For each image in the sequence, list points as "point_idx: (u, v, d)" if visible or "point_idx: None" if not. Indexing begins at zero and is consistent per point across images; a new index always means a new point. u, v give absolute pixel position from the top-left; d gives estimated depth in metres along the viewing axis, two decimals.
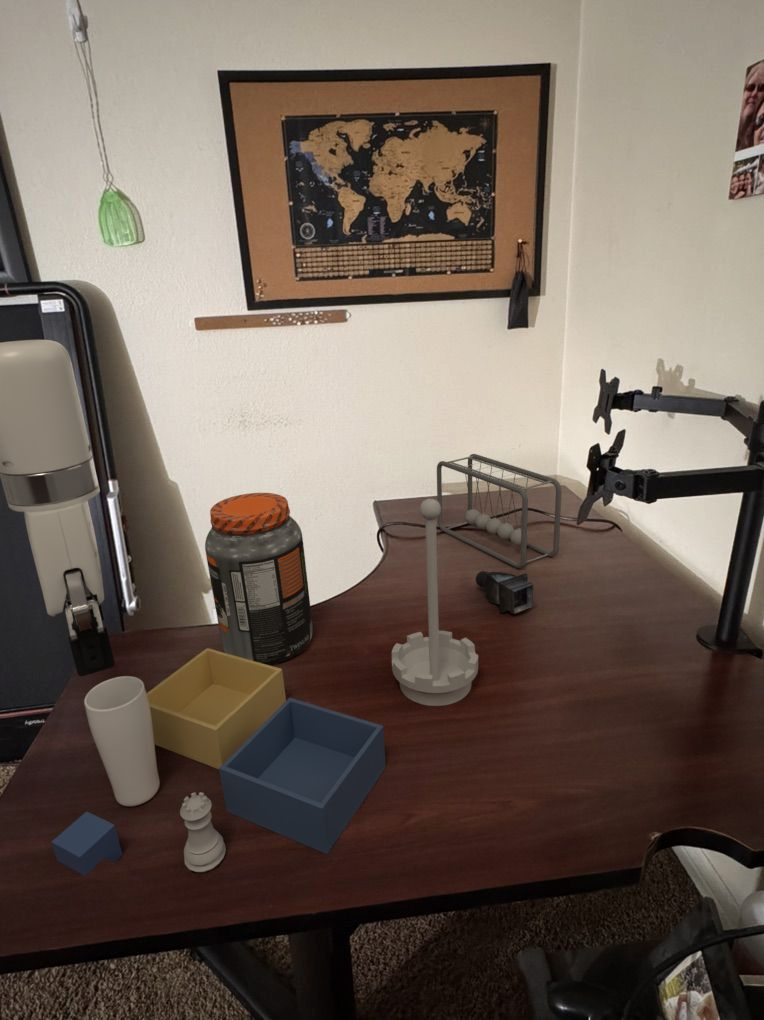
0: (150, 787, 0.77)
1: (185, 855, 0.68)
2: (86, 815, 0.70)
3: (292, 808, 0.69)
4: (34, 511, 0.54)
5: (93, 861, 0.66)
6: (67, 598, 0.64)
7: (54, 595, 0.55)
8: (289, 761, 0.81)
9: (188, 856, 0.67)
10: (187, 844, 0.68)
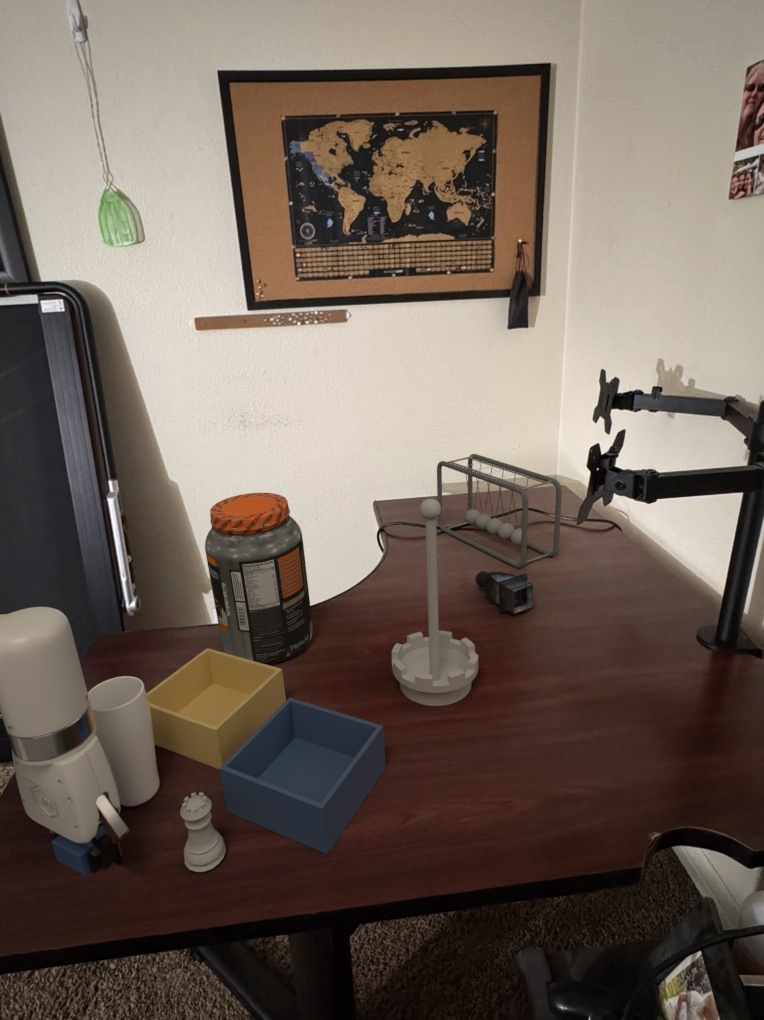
0: (149, 787, 0.77)
1: (185, 855, 0.68)
2: None
3: (292, 808, 0.69)
4: (62, 760, 0.60)
5: None
6: None
7: (90, 824, 0.62)
8: (289, 761, 0.81)
9: (188, 856, 0.67)
10: (187, 844, 0.68)
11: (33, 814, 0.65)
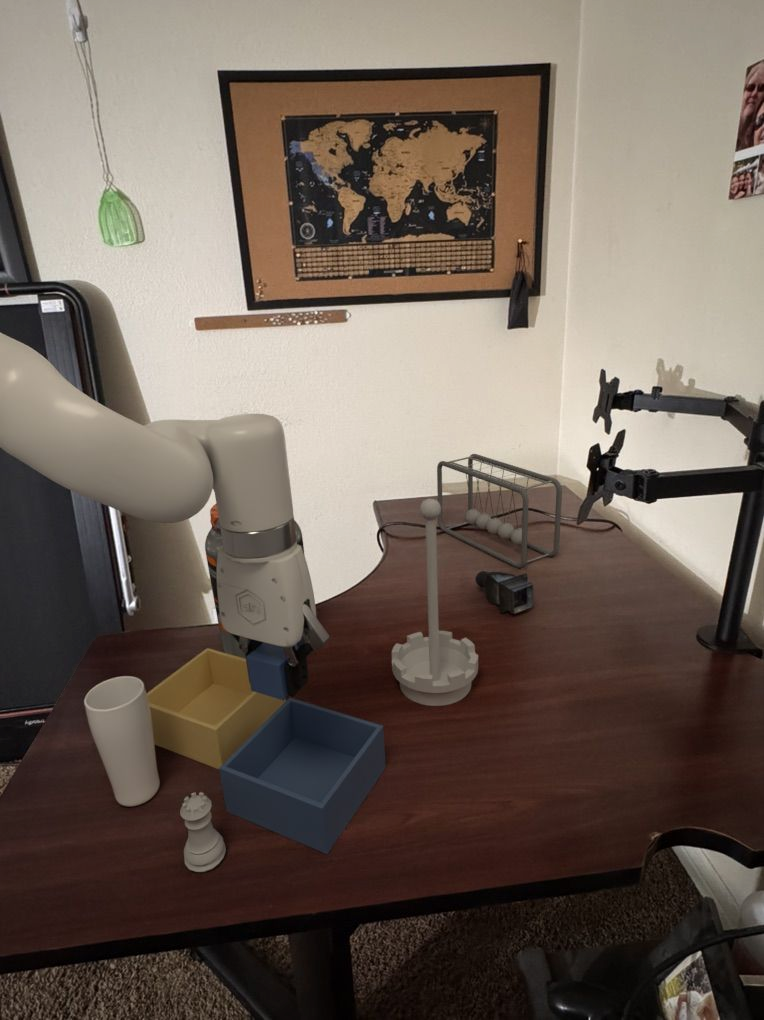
0: (149, 787, 0.77)
1: (185, 855, 0.68)
2: None
3: (292, 808, 0.69)
4: (276, 559, 0.63)
5: None
6: None
7: (298, 626, 0.64)
8: (289, 761, 0.81)
9: (188, 856, 0.67)
10: (187, 844, 0.68)
11: (233, 626, 0.67)
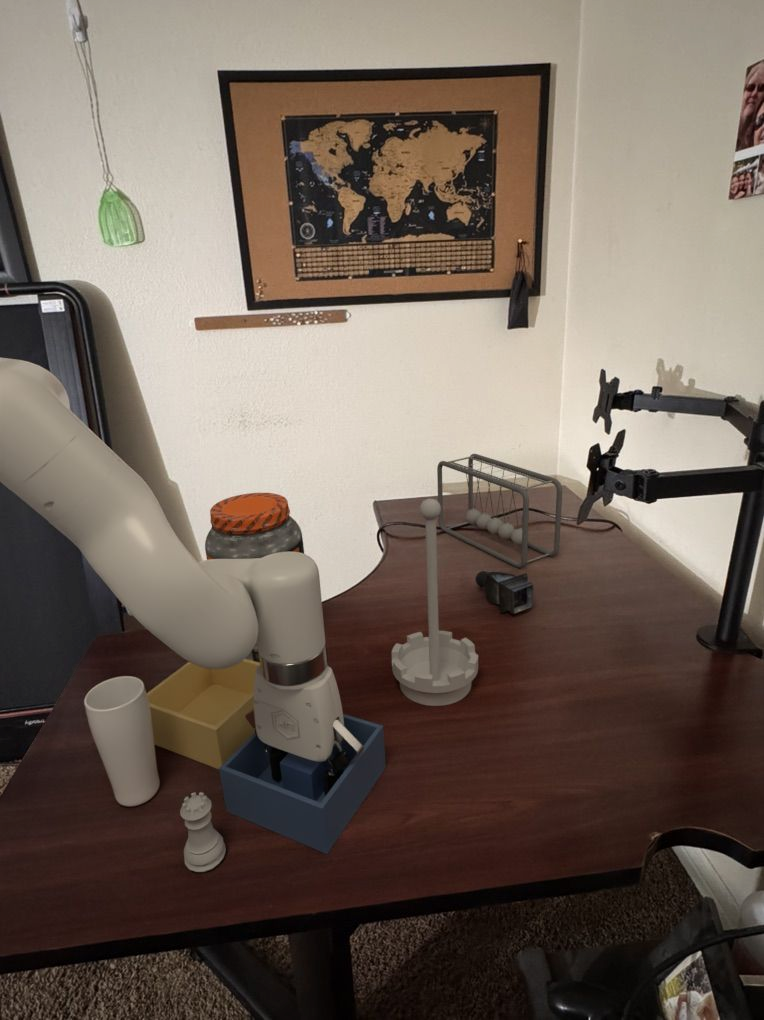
0: (149, 787, 0.77)
1: (185, 855, 0.68)
2: None
3: (292, 808, 0.69)
4: (310, 685, 0.69)
5: (318, 780, 0.75)
6: (275, 757, 0.77)
7: (329, 743, 0.70)
8: None
9: (188, 856, 0.67)
10: (187, 844, 0.68)
11: (268, 738, 0.74)
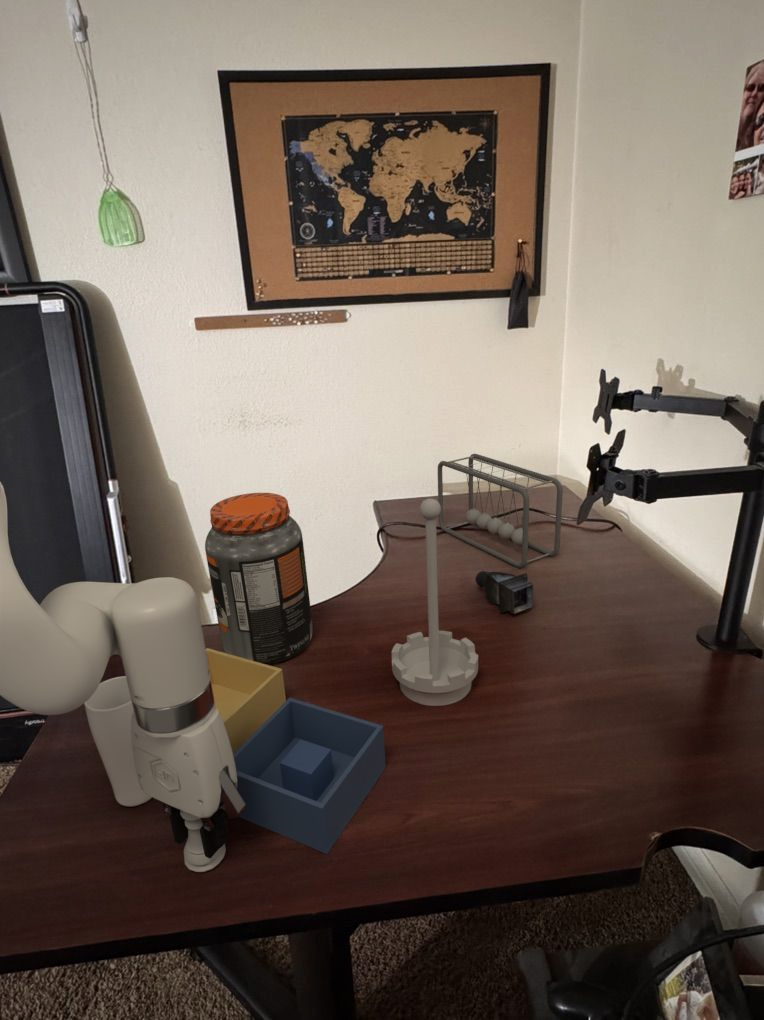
0: None
1: (185, 855, 0.68)
2: (302, 742, 0.78)
3: (292, 808, 0.69)
4: (189, 732, 0.60)
5: (318, 780, 0.75)
6: (176, 817, 0.67)
7: (213, 797, 0.61)
8: None
9: (188, 856, 0.67)
10: (187, 844, 0.68)
11: (149, 789, 0.64)
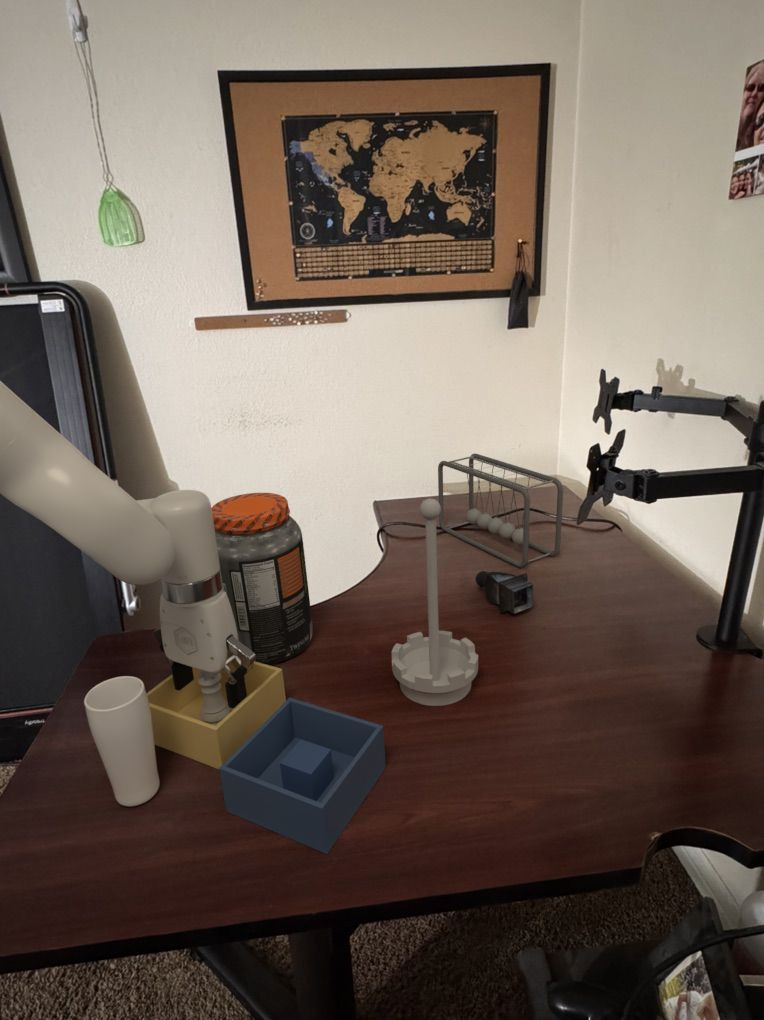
0: (149, 787, 0.77)
1: (201, 715, 0.88)
2: (302, 742, 0.78)
3: (292, 808, 0.69)
4: (204, 604, 0.80)
5: (318, 780, 0.75)
6: (176, 668, 0.88)
7: (222, 656, 0.82)
8: None
9: (203, 716, 0.88)
10: (203, 707, 0.89)
11: (173, 655, 0.85)
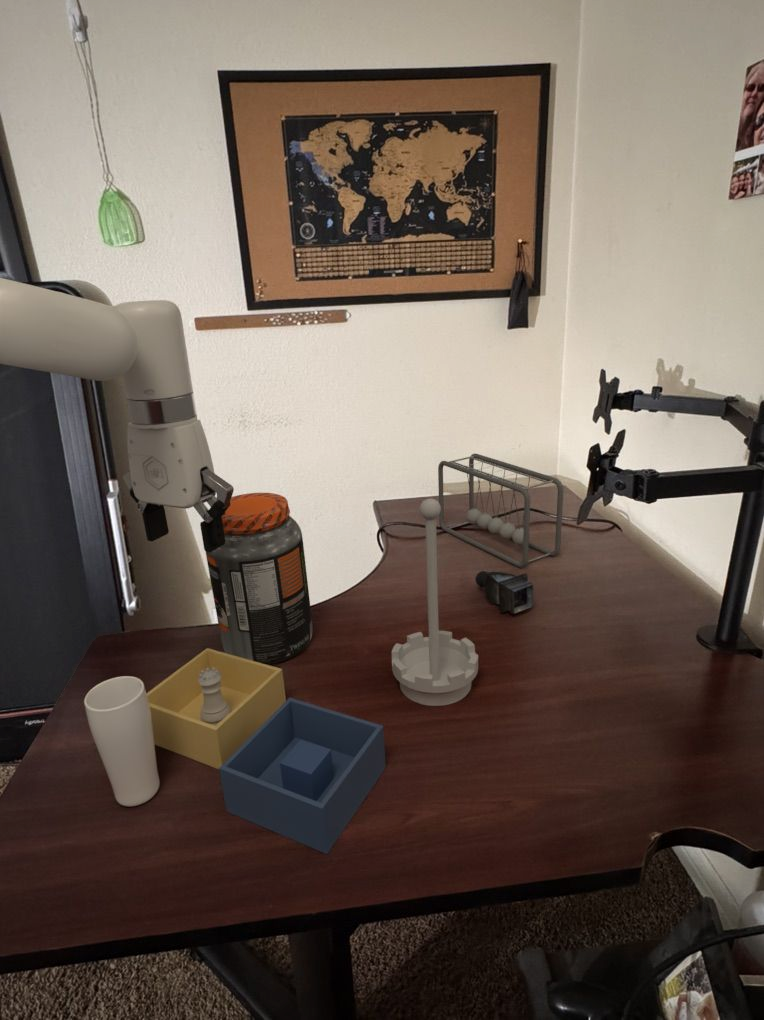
0: (149, 787, 0.77)
1: (201, 715, 0.88)
2: (302, 742, 0.78)
3: (292, 808, 0.69)
4: (174, 426, 0.72)
5: (318, 780, 0.75)
6: (148, 514, 0.80)
7: (195, 488, 0.74)
8: None
9: (203, 716, 0.88)
10: (203, 707, 0.89)
11: (143, 493, 0.77)
